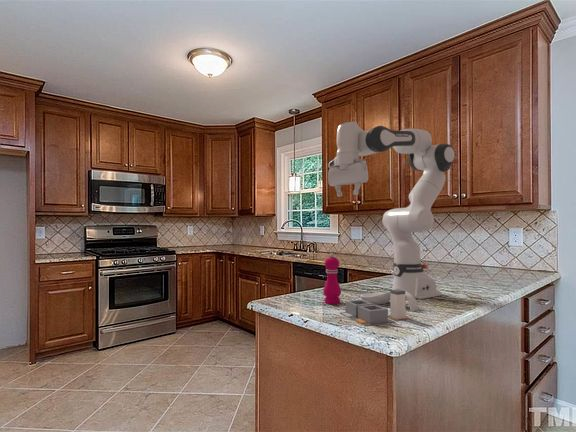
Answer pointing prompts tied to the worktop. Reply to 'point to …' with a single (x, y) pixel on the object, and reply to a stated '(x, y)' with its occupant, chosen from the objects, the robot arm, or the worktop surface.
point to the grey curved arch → (388, 299)
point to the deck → (399, 319)
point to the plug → (397, 304)
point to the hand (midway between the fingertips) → (347, 195)
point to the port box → (366, 313)
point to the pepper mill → (332, 281)
